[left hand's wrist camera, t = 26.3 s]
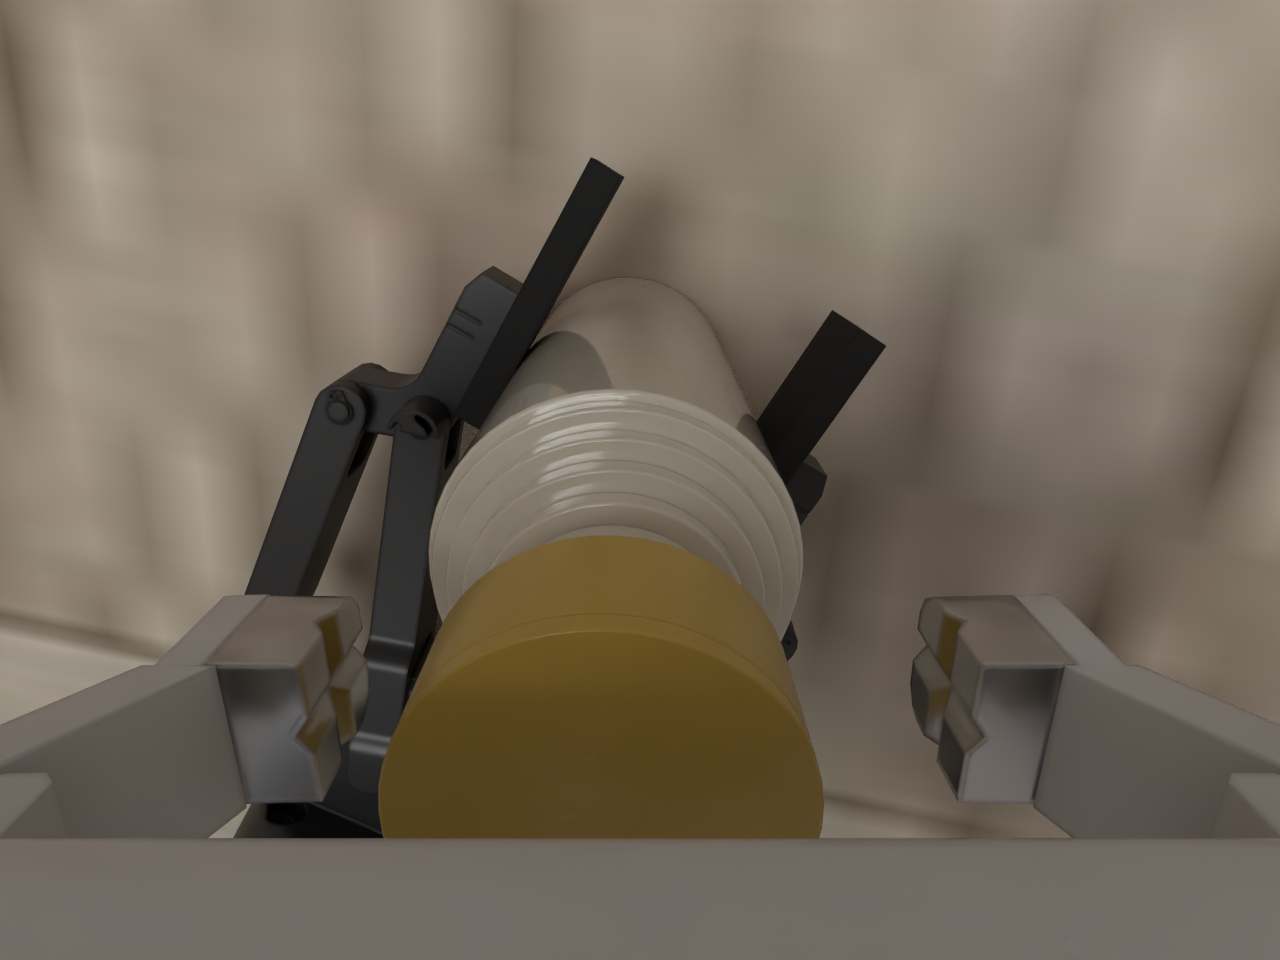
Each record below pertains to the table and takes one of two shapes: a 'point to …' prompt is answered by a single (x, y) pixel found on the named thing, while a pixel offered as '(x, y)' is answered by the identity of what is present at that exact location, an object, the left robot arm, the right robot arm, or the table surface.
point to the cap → (603, 707)
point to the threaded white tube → (622, 452)
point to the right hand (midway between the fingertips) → (736, 251)
